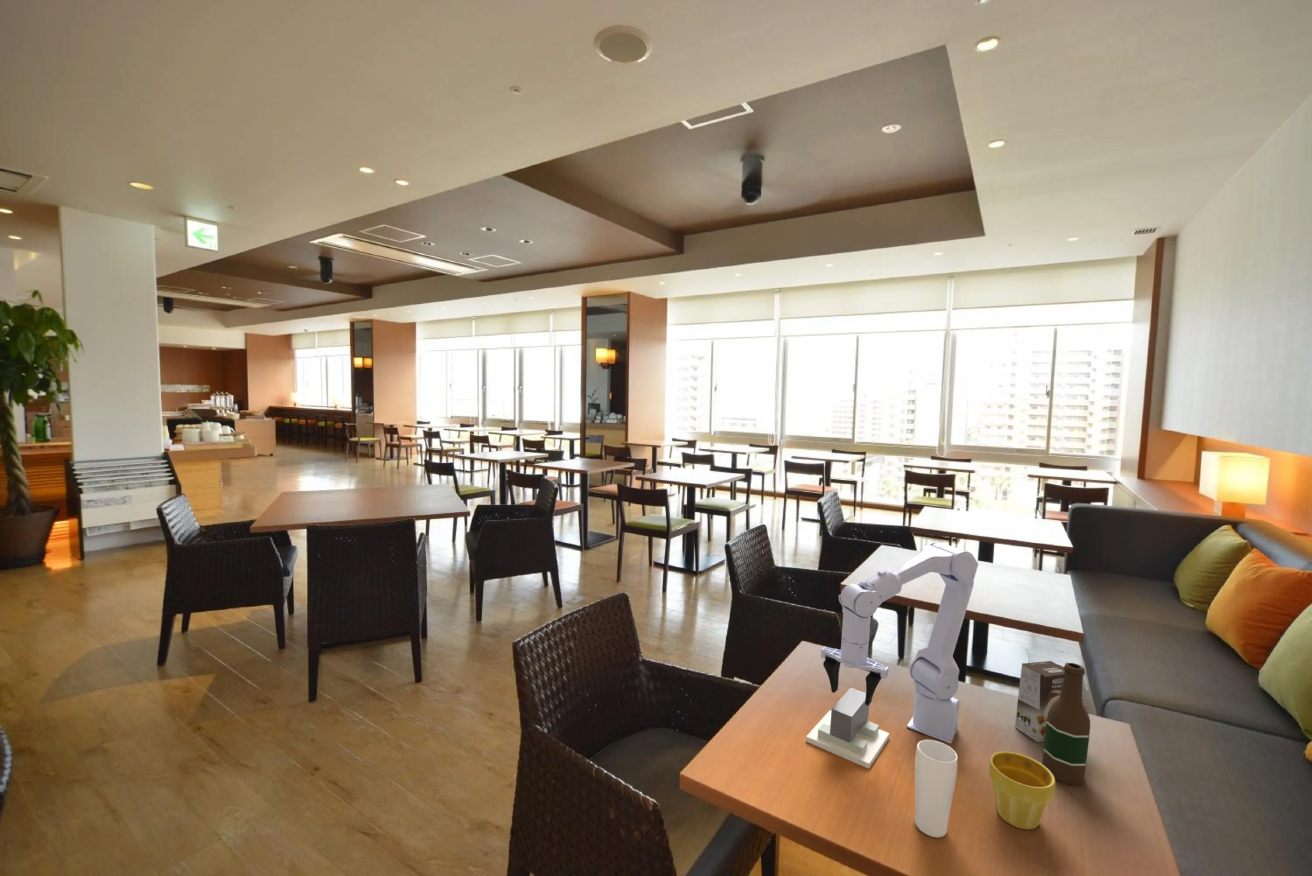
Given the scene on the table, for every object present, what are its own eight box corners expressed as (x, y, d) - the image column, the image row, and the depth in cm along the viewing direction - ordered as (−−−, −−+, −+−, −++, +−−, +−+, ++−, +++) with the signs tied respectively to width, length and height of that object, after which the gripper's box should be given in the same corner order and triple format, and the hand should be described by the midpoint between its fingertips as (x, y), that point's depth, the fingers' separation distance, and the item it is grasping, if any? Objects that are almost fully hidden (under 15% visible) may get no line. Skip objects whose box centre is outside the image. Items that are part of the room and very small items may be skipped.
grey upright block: (868, 718, 133) (870, 694, 133) (849, 743, 124) (851, 716, 123) (849, 711, 136) (850, 687, 135) (829, 734, 127) (831, 708, 126)
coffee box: (1038, 743, 131) (1045, 676, 130) (1013, 727, 137) (1020, 663, 136) (1068, 738, 134) (1075, 672, 132) (1043, 722, 140) (1050, 659, 138)
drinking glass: (958, 843, 101) (965, 763, 100) (919, 841, 101) (926, 762, 100) (940, 815, 108) (946, 739, 106) (903, 813, 108) (910, 738, 106)
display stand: (888, 738, 131) (890, 725, 131) (868, 769, 120) (869, 755, 120) (829, 714, 140) (830, 703, 139) (806, 741, 129) (806, 728, 128)
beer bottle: (1077, 767, 123) (1089, 661, 121) (1091, 791, 116) (1104, 678, 114) (1035, 758, 126) (1046, 654, 123) (1047, 781, 118) (1059, 670, 116)
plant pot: (1009, 839, 102) (1014, 788, 102) (973, 797, 113) (978, 750, 112) (1063, 838, 103) (1069, 787, 102) (1023, 797, 113) (1028, 750, 112)
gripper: (817, 635, 129) (813, 692, 130) (883, 655, 120) (878, 717, 121) (829, 625, 134) (825, 680, 136) (892, 644, 126) (888, 703, 127)
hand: (851, 697), depth 129 cm, fingers open, 7 cm apart
